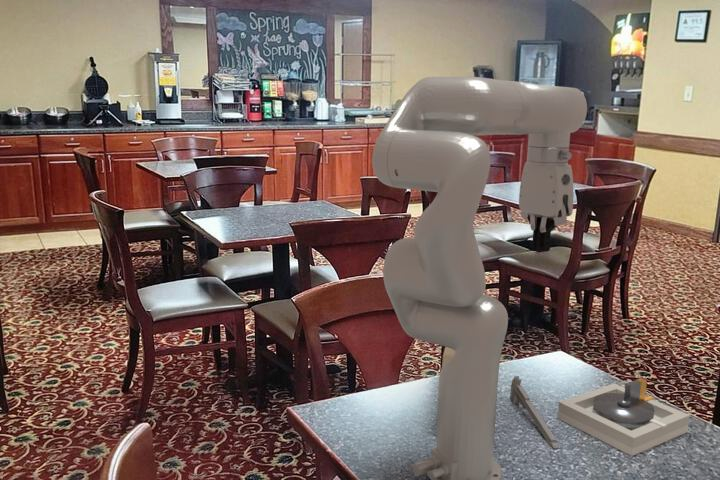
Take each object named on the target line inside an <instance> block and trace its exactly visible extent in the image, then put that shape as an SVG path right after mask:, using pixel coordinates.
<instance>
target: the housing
mask: <svg viewBox="0 0 720 480" xmlns="http://www.w3.org/2000/svg"><path fill="white" fill-rule="evenodd" d="M605 393H622V394H625V386H622V385H619V384H617V383H615V382H614V383H611V384H609V385H605V386H603V387H599V388H597V389H593V390H590V391H587V392H585V393H582V394H578V395H575V396H572V397H570V398H567V399H563V400H561V401H559V402H558V411H557V419H558V420H560V421H562V422H564V423H565V424H568V425H570V426H572V427H574V428H576V429H578V430H579V431H582V432H584V433H586V434H588V435H590V436H592V437H594V438H595V439H598V440H599V441H601V442H603V443H605V444H608V445H610V446H611V447H613V448H615V449H617V450H619V451H621V452H623V453H625V454H627V455H629V456H631V457H633V456H636V455H638V454H641V453H642V452H644V451H645V452H646V451H647V450H649V449H652V448H654V447H656V446H659V445H661V444H664V443H665V442H668V441H670V440H672V439H675V438H677V437H679V436H682V435H684V434H686V433H688V430H689V425H690V424H689V423H690V416H691V415H690V414H688V413H686V412H683V411H682V410H679V409H676V408H674V407H671V406H669V405H666V404H665V403H662V402H660V401H657V400H656V399H655V397H653V396H652V395H645V401H647V402H648V403H650V404H651V405H652V406H653V407H654V418H653V419H652V420H650V422H652V423H649V424H647V425H644V426H642V427H639V428H637V429H634V430H632V431H631V430H629V429H627V428H625V427H622V426H620V425H618V424H616V423H614V422H612V421H610V420H608V419H606V418H604V417H601V416H599V415H597V414H595V413H593V403H594V398H595V397H596V396H598V395H600V394H605Z"/></svg>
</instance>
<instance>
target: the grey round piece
mask: <svg viewBox="0 0 720 480" xmlns="http://www.w3.org/2000/svg"><path fill="white" fill-rule="evenodd" d="M624 384H625V386H624V388H625V394H622V393H605V394H600V395H598V396H596V397H595V398H594V403H593V413H595V414H597V415H599V416H601V417H604V418H606V419H608V420H610V421H612V422H614V423H616V424H618V425H620V426H622V427H625V428H627V429H629V430H631V431H632V430H634V429H637V428H639V427H642V426H644V425H647V424H649V423H652V422H650V420H652V419H653V418H654V407H653V406H652V405H651V404H650V403H648V402H647V401H645V396H646V389H647V379H645V378H643V377H640V378H636V379H635V380H633V381H630V382H627V383H624Z"/></svg>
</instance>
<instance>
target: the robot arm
mask: <svg viewBox="0 0 720 480" xmlns="http://www.w3.org/2000/svg"><path fill="white" fill-rule="evenodd" d="M587 113H588V104H587V99H586V96H585V95H584V93H583V92H582V90H580V89H579V88H576V87H568V86H559V85H557V86H556V85H547V84H537V83H532V82H524V81H523V82H522V81H512V80H507V79H506V80H505V79H497V78H488V77H480V76H427V77H423V78H422V79H419V80H418V81H417V82H416V83H415V84H414V85H413V86H412V87H411V88H410V89H409V90H407V92H406V93H405V95H404V96H403V97H402V99H401V101H400V102H399V104H398V105H397V106H396V107H395V109H394V111H393V113H392V115H391V116H390V117H389V118H388V120H387V122H386V124H385V126H384V127H383V128H382V130H381V131H380V133H379V135H378V137H377V140H376V141H375V144H374V147H373V150H372V155H371V156H372V157H371V166H372V170H373V173H374V175H375V177H376V178H377V179H378V181H379V182H380V183H382V184H384V185H385V186H388V187H391V188H397V189H405V190H406V189H407V190H415V191H423V192H424V191H425V192H435V193H436V195H435V197H434V198H433V201H432V202H431V203H430V204H429V205H428V206H427V207H426V208H425V209H424V210H423V212H421V214H420V216H419V218H418V219H417V221H416V222H415V224H414V229H413V237H404V238H401V239H398V240H396V241H395V242H394V243H393V244H392V245H391V246H390V247H389V248H388V250H387V252H386V254H385V256H384V260H383V268H382V277H383V283H384V288H385V291H386V292H387V293H386V294H387V295H388V297H389V300H390V303H391V304H392V307H393V309H394V312H395V314H396V317H397V318H398V322H399V324H400V325H401V327H402V329H403V331H404V332H405V333H406V334H407V335H408V336H409V337H411V338H412V339H415V340H419V341H422V342H426V343H429V344H434V345H438V346H442V347H448V348H451V349H453V350H454V351H455V354H454V355H453V357H452V358H450V359H449V360H448V361H447V362H446V363H445V364H444V366H443V367H442V366H441V370H440V372H439V375H438V398H437V399H438V400H437V420H436V421H437V423H436V425H437V426H436V444H435V445H436V447H434V448H432V449H431V450H430V456H428V457H427V459H426V460H423V461H420V462H417V463H413V465H412V471H413V474H414V475H415V476H416V477H419V476H422V475H425V474H426V475H427V477H428V478H429V479H430V480H502V475H503V471H502V467H501V465H500V464H499V462H498V461H496V459H494V450H495V449H494V447H495V431H496V430H495V429H496V418H497V417H496V416H497V403H498V401H497V399H498V386H499V369H500V364H501V357H502V353H503V352H502V351H503V346H504V342H505V338H506V335H507V330H508V324H509V316H508V315H509V314H508V311H507V309H506V307H505V306H504V304H503V303H502V302H501V301H499V300H498V299H496V298H495V297H492V296H490V295H488V294H485V291H486V286H487V285H486V284H487V278H486V272H485V267H484V264H483V260H482V255H481V252H480V249H479V246H478V243H477V238H476V234H475V230H474V221H475V219H476V215H477V211H478V209H479V206H480V204H481V203H480V202H481V201H482V197H483V194H484V191H485V188H486V184H487V182H488V179H489V174H490V169H491V163H492V162H491V161H492V160H491V153H490V149H489V146H488V145H487V143H486V142H485V141H484V140H483V139H482V138H480V137H478V136H491V135H492V136H493V135H494V136H495V135H496V136H498V135H501V136H506V135H516V136H520V135H521V136H522V135H528V141H527V153H526V155H527V156H526V162H524V166H523V169H522V174H521V179H520V186H519V193H518V207H519V210H520V216H521V218H523V219H525V220H527V221H528V222H529V224H530V230H531V231H533V232H532V244H531V250H532V252H535V253H546V252H550V250H551V249H550V247H551V238H552V237H551V236H552V232H554V231H555V228H557V226H563V225H567V224H568V220H567V217H570V216H572V215H573V211H574V210H573V209H574V176H573V170H572V169H573V168H572V165H571V164H569V160H571V159H572V157H573V154H572V152H569V151H570V141H571V140H570V139H571V133H575V132H577V131H578V130H579V129H580V128H581V127H582V126H583V124H584V122H585V120H586V118H587Z"/></svg>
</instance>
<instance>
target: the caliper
mask: <svg viewBox="0 0 720 480" xmlns="http://www.w3.org/2000/svg"><path fill="white" fill-rule="evenodd" d="M521 383H522V379H520V376H519V375H514V377H513V378H512V380H511V385H510V395H509V399H510V400H509V401H510V402H513V406H519V405H520V406H521V407H522V409H523V410H526V411H527V413H528V414H529V416H530V417H531V420H533V422H534V423H535V425H536V427H537V429H538V430H539V432H540V433H541V435H542V436H543V437H544V439H545V441H546V443H548V444H549V445H550V446H551V448H552V449H554V450H555V449H560V446H559V445H558V442H557V439H556V437H555V435H554V434H553V432H552V431H551V430H550V428H549V426H548V425H547V423H546V422H545V421H544V419H543V417H542V416H541V414H540V413H539V411H538V410H537V409H536V407H535V406H534V404H533V402H532V401H531V397H530V396H529V394H528V393H527V392H526V389H525V388H524V386H523V385H521Z"/></svg>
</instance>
